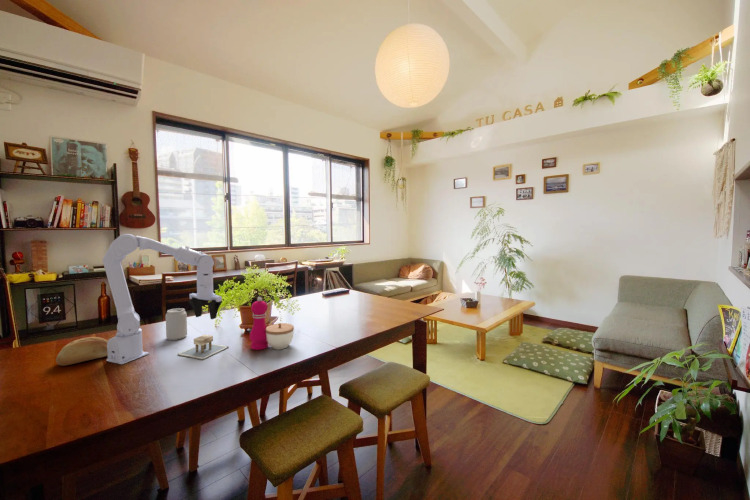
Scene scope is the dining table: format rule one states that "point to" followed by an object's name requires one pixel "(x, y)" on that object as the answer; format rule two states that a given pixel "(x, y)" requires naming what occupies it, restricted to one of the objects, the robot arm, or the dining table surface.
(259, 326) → the pepper mill
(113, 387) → the dining table surface
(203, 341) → the small wooden stool
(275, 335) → the lidded jar
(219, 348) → the mat
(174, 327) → the can
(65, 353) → the bread roll
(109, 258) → the robot arm
